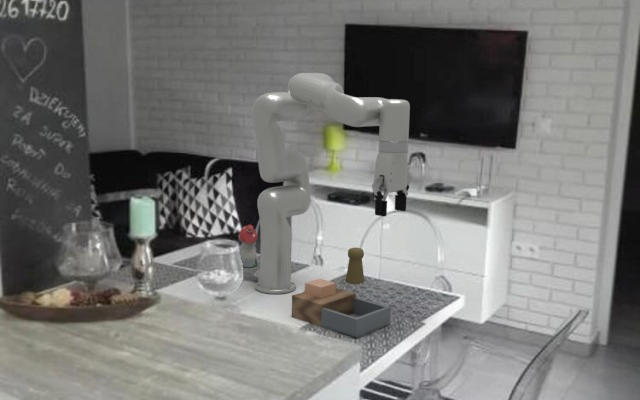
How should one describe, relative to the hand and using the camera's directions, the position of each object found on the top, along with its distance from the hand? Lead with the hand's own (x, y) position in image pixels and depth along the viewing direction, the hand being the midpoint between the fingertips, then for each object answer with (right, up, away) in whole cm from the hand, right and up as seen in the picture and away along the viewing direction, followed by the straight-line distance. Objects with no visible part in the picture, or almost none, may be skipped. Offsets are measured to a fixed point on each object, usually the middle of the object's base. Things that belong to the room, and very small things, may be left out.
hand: (390, 212), depth 187 cm
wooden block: (-17, -29, +10) cm, 35 cm away
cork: (-7, -23, +44) cm, 50 cm away
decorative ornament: (-43, -19, +60) cm, 77 cm away
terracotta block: (-18, -22, +10) cm, 31 cm away
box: (-9, -30, +3) cm, 31 cm away
